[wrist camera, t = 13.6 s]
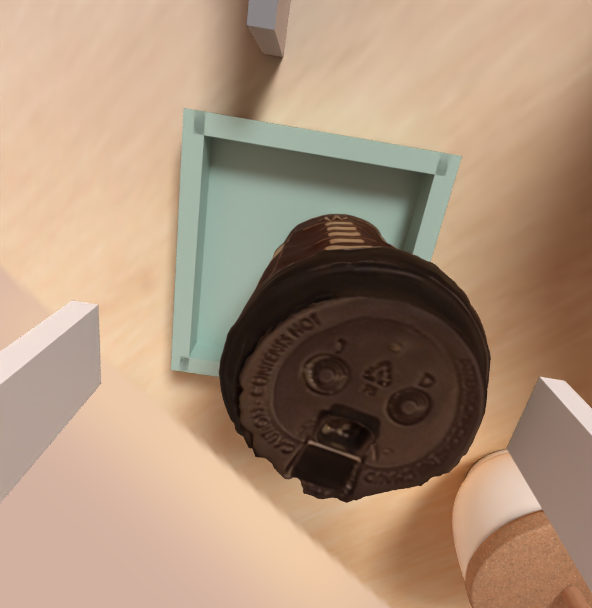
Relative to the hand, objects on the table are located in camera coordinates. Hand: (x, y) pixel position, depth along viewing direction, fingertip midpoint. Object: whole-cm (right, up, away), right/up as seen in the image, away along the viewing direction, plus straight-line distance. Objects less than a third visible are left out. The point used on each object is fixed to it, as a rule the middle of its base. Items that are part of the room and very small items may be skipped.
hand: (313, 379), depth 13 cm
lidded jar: (+15, -11, +18) cm, 26 cm away
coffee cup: (+1, +4, +11) cm, 12 cm away
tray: (0, +5, +12) cm, 13 cm away
